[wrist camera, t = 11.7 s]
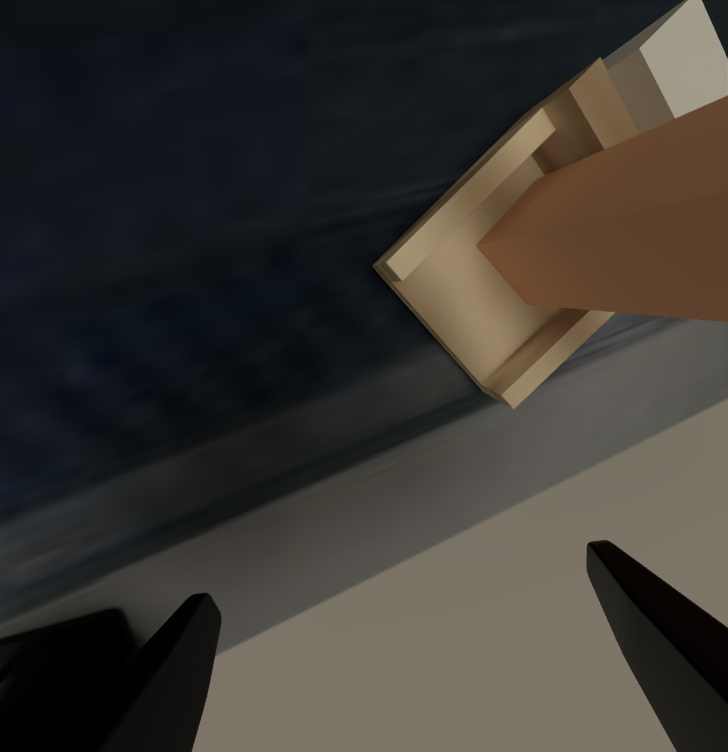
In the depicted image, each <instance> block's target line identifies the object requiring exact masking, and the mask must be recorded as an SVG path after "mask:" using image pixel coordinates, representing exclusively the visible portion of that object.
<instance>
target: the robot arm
mask: <svg viewBox="0 0 728 752" xmlns="http://www.w3.org/2000/svg"><path fill="white" fill-rule="evenodd" d="M587 572H588V576H589V579H590V581H591V583H592V586H593V588H594V590H595V592H596V595H597V597H598V599H599V601H600V604H601V606H602V608H603V611H604V613H605V615H606V617H607V620H608V622H609V624H610V626H611V629H612V631H613V633H614V635H615V638H616V640H617V642H618V644H619V646H620V649H621V651H622V653H623V655H624V657H625V659H626V661H627V663H628V665H629V667H630V669H631V670H632V672H633V674H634V676H635V677H636V679H637V681H638V683H639V685H640V686H641V688H642V690H643V692H644V694H645V695H646V697H647V699H648V701H649V703H650V704H651V706H652V708H653V710H654V712H655V714H656V715H657V717H658V719H659V720H660V723H661V724H662V726H663V728H664V730H665V731H666V733H667V735H668V737H669V739H670V740H671V742H672V744H673V746H674V748H675V749H676V751H677V752H728V627H726V626H725V625H724V624H722V623H721V622H719V621H718V620H717V619H715V618H714V617H712V616H711V615H710V614H709V613H707V612H706V611H704V610H703V609H701V608H700V607H699V606H698V605H696V604H695V603H693V602H692V601H691V600H689V599H688V598H687V597H685V596H684V595H682V594H681V593H680V592H678V591H677V590H676V589H674V588H673V587H672V586H670V585H669V584H668V583H666V582H665V581H663V580H662V579H661V578H659V577H658V576H656V575H655V574H654V573H652V572H651V571H650V570H648V569H647V568H646V567H644V566H643V565H642V564H640V563H639V562H637V561H636V560H635V559H633V558H632V557H631V556H629V555H628V554H626V553H625V552H624V551H622V550H621V549H619V548H618V547H617V546H616V545H614V544H613V543H611V542H610V541H607V540H601V541H593V542H589V543H588V544H587ZM109 620H111V621H113V622H111V621H109ZM220 628H221V613H220V611H219V609H218V607H217V606H216V604H215V602H214V601H213V599H212V597H211V596H210V594H208V593H199V594H194V595H191V596H190V597H189V598H188V599H187V600H186V601H185V602H184V603H183V604H182V605H181V606H180V607H179V608H178V609H177V610H176V611H175V613H174V614H173V615H172V616H171V617H170V618H169V619H168V620H167V621H166V622H165V623H164V624H163V625H162V627H161V628H160V629H159V630H158V631H157V632H156V633H155V634H154V635H153V636H152V637H151V638H150V640H149V641H148V642H147V643H146V644H145V645H144V646H143V647H142V648H141V649H140V650H139V647H138V646H137V645H136V644H135V642H134V639H133V637H132V635H131V633H130V630H129V628H128V626H127V623H126V621H125V619H124V617H123V615H122V613H121V612H119V611H118V610H108V611H105V612H101V613H98V614H94V615H90V616H87V617H83V618H80V619H76V620H73V621H69V622H66V623H62V624H58V625H55V626H51V627H48V628H44V629H41V630H37V631H33V632H30V633H26V634H23V635H19V636H16V637H12V638H8V639H5V640H1V641H0V752H192V748H193V745H194V741H195V738H196V734H197V731H198V727H199V724H200V720H201V716H202V713H203V709H204V706H205V702H206V698H207V693H208V689H209V684H210V679H211V675H212V669H213V664H214V659H215V654H216V648H217V643H218V638H219V633H220Z"/></svg>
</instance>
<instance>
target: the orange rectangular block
mask: <svg viewBox="0 0 728 752" xmlns="http://www.w3.org/2000/svg"><path fill="white" fill-rule="evenodd" d="M476 247H477V248H478V249H479V250H480V251H481V252H482V254H483V255H484V256H485V257H486V258H487V259H488V260H489V262H490V263H491V264H492V265H493V266H494V267H495V268H496V270H497V271H498V272H499V273H500V274H501V275H502V276H503V278H504V279H505V280H506V281H507V282H508V283H509V285H510V286H511V287H512V288H513V289H514V290H515V291H516V293H517V294H518V295H519V296H520V297H521V298H522V299H523V301H524V302H525V303H526V304H527V305H536V306H547V307H559V308H571V309H583V310H595V311H607V312H618V313H630V314H642V315H654V316H666V317H677V318H689V319H701V320H713V321H725V322H728V95H727V96H725V97H723V98H721V99H718V100H716V101H714V102H712V103H709V104H707V105H705V106H702V107H700V108H698V109H696V110H693V111H691V112H689V113H686V114H684V115H682V116H680V117H677V118H675V119H673V120H671V121H668V122H666V123H664V124H661V125H659V126H657V127H655V128H652V129H650V130H648V131H645V132H643V133H641V134H639V135H636V136H634V137H632V138H629V139H627V140H625V141H623V142H620V143H618V144H616V145H614V146H611V147H609V148H607V149H604V150H602V151H600V152H598V153H595V154H593V155H591V156H588V157H586V158H584V159H582V160H579V161H577V162H575V163H573V164H570V165H568V166H566V167H563V168H561V169H559V170H557V171H554V172H552V173H550V174H547V175H545V176H543V177H541V178H538V179H536V180H535V181H534V182H533V183H532V184H531V185H530V186H529V188H528V189H527V190H526V191H525V192H524V193H523V194H522V195H521V196H520V197H519V199H518V200H517V201H516V202H515V203H514V204H513V205H512V206H511V207H510V208H509V210H508V211H507V212H506V213H505V214H504V215H503V216H502V217H501V218H500V220H499V221H498V222H497V223H496V224H495V225H494V226H493V227H492V228H491V229H490V231H489V232H488V233H487V234H486V235H485V236H484V237H483V238H482V239H481V240H480V242H479V243H478V244H477V245H476Z"/></svg>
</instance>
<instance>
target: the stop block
mask: <svg viewBox="0 0 728 752" xmlns="http://www.w3.org/2000/svg"><path fill="white" fill-rule="evenodd" d="M602 61H603V63H604V65H605V67H606V69H607V71H608V72H609V74H610V76H611V78H612V80H613V82H614V83H615V85H616V87H617V89H618V91H619V93H620V95H621V96H622V98H623V100H624V102H625V104H626V106H627V107H628V109H629V111H630V113H631V115H632V117H633V118H634V120H635V122H636V124H637V126H638V128H639V129H640V131H641V133H643V132H645V131H648V130H650V129H652V128H655V127H657V126H659V125H661V124H664V123H666V122H668V121H671V120H673V119H675V118H677V117H680V116H682V115H684V114H686V113H689V112H691V111H693V110H696V109H698V108H700V107H702V106H705V105H707V104H709V103H712V102H714V101H716V100H718V99H721V98H723V97H725V96H727V95H728V59H727V57H726V55H725V52H724V50H723V48H722V45H721V43H720V41H719V39H718V36H717V34H716V32H715V30H714V27H713V25H712V23H711V20H710V18H709V16H708V14H707V11H706V9H705V7H704V5H703V2H702V0H684V1H683V2H682V3H680V4H679V5H677V6H676V7H675V8H673V9H672V10H671V11H669V12H668V13H666V14H665V15H664V16H662V17H661V18H660V19H658V20H657V21H656V22H654V23H653V24H651V25H650V26H649V27H647V28H646V29H645V30H643V31H642V32H641V33H639V34H638V35H636V36H635V37H634V38H632V39H631V40H630V41H628V42H627V43H625V44H624V45H623V46H621V47H620V48H619V49H617V50H616V51H615V52H613V53H612V54H610V55H609V56H608V57H606V58H605V59H604V60H602Z"/></svg>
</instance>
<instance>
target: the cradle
mask: <svg viewBox="0 0 728 752" xmlns="http://www.w3.org/2000/svg"><path fill="white" fill-rule="evenodd" d="M639 134H641V131H640V129H639V128H638V126H637V124H636V122H635V120H634V118H633V117H632V115H631V113H630V111H629V109H628V107H627V106H626V104H625V102H624V100H623V98H622V96H621V95H620V93H619V91H618V89H617V87H616V85H615V83H614V82H613V80H612V78H611V76H610V74H609V72H608V71H607V69H606V67H605V65H604V63H603V61H602V60H601V58H599V59H597V60H596V61H595V62H593V63H592V64H591V65H589V66H588V67H587V68H585V69H584V70H583V71H581V72H580V73H578V74H577V75H576V76H574V77H573V78H572V79H570V80H569V81H568V82H566V83H565V84H564V85H562V86H561V87H560V88H558V89H557V90H556V91H554V92H553V93H552V94H550V95H549V96H548V97H546V98H545V99H544V100H542V101H541V102H540V103H538V104H537V105H536V106H534V107H533V108H532V109H530V110H529V111H528V112H526V113H525V114H524V115H523V116H522V117H521V118H520V119H519V120H518V121H517V122H516V123H515V124H514V125H513V126H512V127H511V128H510V129H509V130H508V131H507V132H506V133H505V134H504V135H503V136H502V137H501V138H500V139H499V140H498V141H497V142H496V143H495V144H494V145H493V146H492V147H491V148H490V149H489V150H488V151H487V152H486V153H485V154H484V155H483V156H482V157H481V158H480V159H479V160H478V161H477V162H476V163H475V164H474V165H473V166H472V167H471V168H470V169H469V170H468V171H467V172H466V173H465V174H464V175H463V176H462V177H461V178H460V179H459V180H458V181H457V182H456V183H455V184H454V185H453V186H452V187H451V188H450V189H449V190H448V191H447V192H446V193H445V194H444V195H443V196H442V197H441V198H440V199H439V200H438V201H437V202H436V203H435V204H434V205H433V206H432V207H431V208H430V209H429V210H428V211H427V212H426V213H425V214H424V215H423V216H422V217H421V218H420V219H418V220H417V221H416V222H415V223H414V224H413V225H412V226H411V227H410V228H409V229H408V230H407V231H406V232H405V233H404V234H403V235H402V236H401V237H400V238H399V239H398V240H397V241H396V242H395V243H394V244H393V245H392V246H391V247H390V248H389V249H388V250H387V251H386V252H385V253H384V254H383V255H382V256H381V257H380V258H379V259H378V260H377V261H376V262H375V263H374V264H373V265H372V267H373V268H374V269H375V270H376V272H377V273H378V274H379V275H380V276H381V277H382V278H383V279H384V281H385V282H386V283H387V284H388V285H389V286H390V287H391V288H392V290H393V291H394V292H395V293H396V294H397V295H398V296H399V297H400V299H401V300H402V301H403V302H404V303H405V304H406V305H407V307H408V308H409V309H410V310H411V311H412V312H413V313H414V314H415V316H416V317H417V318H418V319H419V320H420V321H421V322H422V323H423V325H424V326H425V327H426V328H427V329H428V330H429V331H430V333H431V334H432V335H433V336H434V337H435V338H436V339H437V340H438V342H439V343H440V344H441V345H442V346H443V347H444V348H445V349H446V351H447V352H448V353H449V354H450V355H451V356H452V357H453V358H454V360H455V361H456V362H457V363H458V364H459V365H460V366H461V368H462V369H463V370H464V371H465V372H466V373H467V374H468V375H469V377H470V378H471V379H472V380H473V381H474V382H475V383H476V384H477V386H478V387H479V388H480V389H481V390H482V391H483V392H484V393H486V394H488V395H489V396H491V397H493V398H495V399H496V400H498V401H500V402H502V403H503V404H505V405H507V406H509V407H510V408H512V409H515V408H516V407H517V406H518V405H519V404H520V403H521V402H522V401H523V400H524V399H525V398H526V397H527V396H528V395H529V394H530V393H531V392H532V391H534V390H535V389H536V388H537V387H538V386H539V385H540V384H541V383H542V382H543V381H544V380H545V379H546V378H547V377H548V376H549V375H550V374H551V373H552V372H553V371H554V370H556V369H557V368H558V367H559V366H560V365H561V364H562V363H563V362H564V361H565V360H566V359H567V358H568V357H569V356H570V355H571V354H572V353H573V352H574V351H575V350H576V349H578V348H579V347H580V346H581V345H582V344H583V343H584V342H585V341H586V340H587V339H588V338H589V337H590V336H591V335H592V334H593V333H594V332H595V331H596V330H597V329H598V328H600V327H601V326H602V325H603V324H604V323H605V322H606V321H607V320H608V319H609V318H610V317H611V316H612V315H613V314H614V313H615V312H607V311H595V310H583V309H571V308H559V307H547V306H536V305H527V304H526V303H525V302H524V301H523V299H522V298H521V297H520V296H519V295H518V294H517V293H516V291H515V290H514V289H513V288H512V287H511V286H510V285H509V283H508V282H507V281H506V280H505V279H504V278H503V276H502V275H501V274H500V273H499V272H498V271H497V270H496V268H495V267H494V266H493V265H492V264H491V263H490V262H489V260H488V259H487V258H486V257H485V256H484V255H483V254H482V252H481V251H480V250H479V249H478V248H477V247H476V245H477V244H478V243H479V242H480V240H481V239H482V238H483V237H484V236H485V235H486V234H487V233H488V232H489V231H490V229H491V228H492V227H493V226H494V225H495V224H496V223H497V222H498V221H499V220H500V218H501V217H502V216H503V215H504V214H505V213H506V212H507V211H508V210H509V208H510V207H511V206H512V205H513V204H514V203H515V202H516V201H517V200H518V199H519V197H520V196H521V195H522V194H523V193H524V192H525V191H526V190H527V189H528V188H529V186H530V185H531V184H532V183H533V182H534V181H535V180H536V179H538V178H541V177H543V176H545V175H547V174H550V173H552V172H554V171H557V170H559V169H561V168H563V167H566V166H568V165H570V164H573V163H575V162H577V161H579V160H582V159H584V158H586V157H588V156H591V155H593V154H595V153H598V152H600V151H602V150H604V149H607V148H609V147H611V146H614V145H616V144H618V143H620V142H623V141H625V140H627V139H629V138H632V137H634V136H636V135H639Z"/></svg>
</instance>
